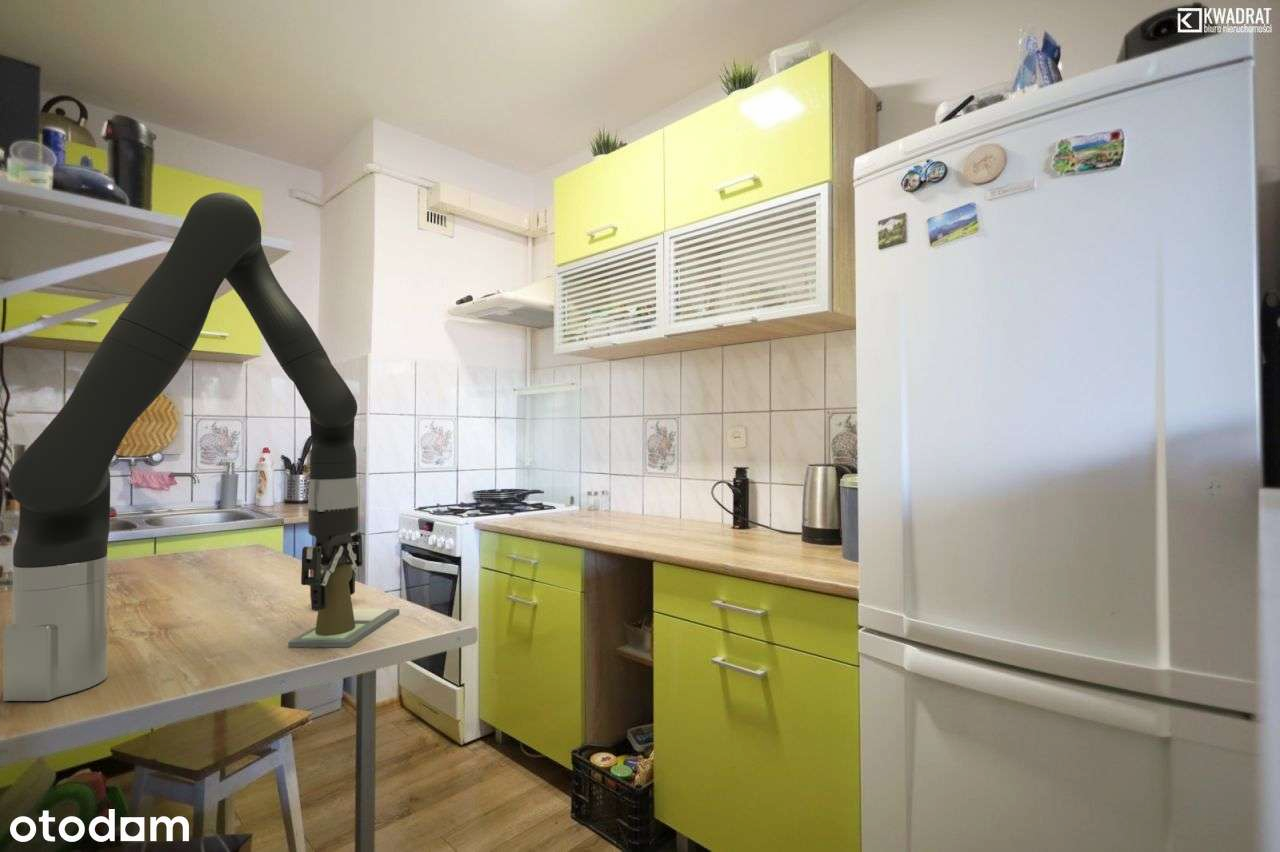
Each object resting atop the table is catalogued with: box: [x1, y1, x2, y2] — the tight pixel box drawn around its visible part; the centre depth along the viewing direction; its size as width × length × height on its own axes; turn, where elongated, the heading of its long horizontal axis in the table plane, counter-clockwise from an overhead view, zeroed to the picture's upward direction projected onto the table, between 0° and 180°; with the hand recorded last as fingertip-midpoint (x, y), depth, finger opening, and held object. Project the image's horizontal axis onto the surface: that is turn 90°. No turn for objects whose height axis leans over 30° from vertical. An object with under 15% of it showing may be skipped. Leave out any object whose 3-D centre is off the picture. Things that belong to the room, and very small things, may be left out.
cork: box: [315, 564, 355, 636], centre depth 99 cm, size 6×6×11 cm
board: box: [287, 608, 400, 649], centre depth 103 cm, size 18×10×1 cm, turn 178°
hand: (334, 601), depth 99 cm, fingers open, 8 cm apart
